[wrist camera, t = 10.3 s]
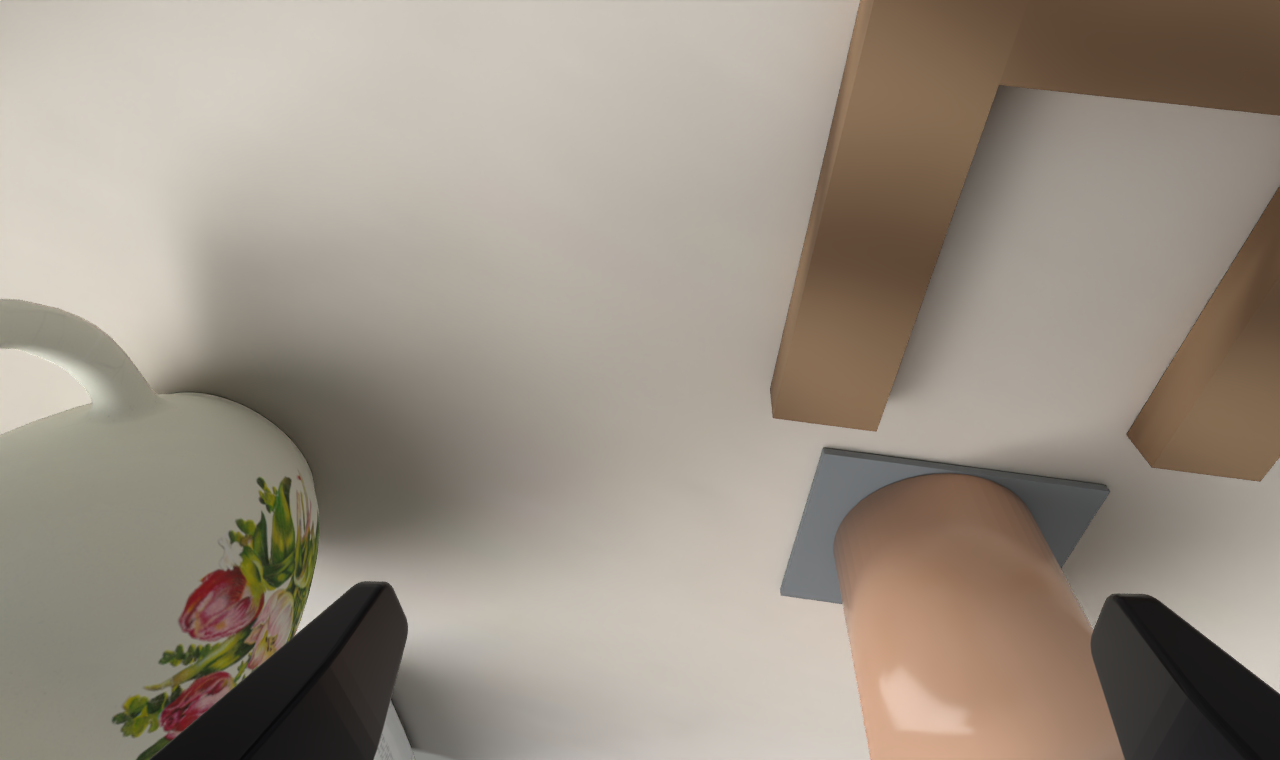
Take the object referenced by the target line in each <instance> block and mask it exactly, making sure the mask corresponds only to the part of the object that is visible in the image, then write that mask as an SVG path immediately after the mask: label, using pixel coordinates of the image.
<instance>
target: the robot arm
mask: <svg viewBox="0 0 1280 760" xmlns="http://www.w3.org/2000/svg"><path fill="white" fill-rule="evenodd" d="M407 634H408V623H407V619H406V616H405V614H404V612H403V609H402V607H401V605H400V603H399V600H398V598H397V596H396V594H395V591H394V589H393V587H392V586H391V585H390V584H389V583H387V582H370V581H365V582H360V583H358V584H356V585H354V586H353V587H352V588H350V589H349V590H348V591H347V592H346V593H345V594H343V595H342V596H341V597H340V598H339V599H337V600H336V601H335V602H334V603H333V604H332V605H330V606H329V607H328V608H327V609H326V610H324V611H323V612H322V613H321V614H320V615H319V616H317V617H316V618H315V619H314V620H313V621H312V622H310V623H309V624H308V625H307V626H306V627H304V628H303V629H302V630H301V631H300V632H299V633H297V634H296V635H295V636H294V637H293V638H292V639H290V640H289V641H288V642H287V643H286V644H284V645H283V646H282V647H281V648H280V649H279V650H277V651H276V652H275V653H274V654H273V655H271V656H270V657H269V658H268V659H267V660H266V661H264V662H263V663H262V664H261V665H260V666H259V667H257V668H256V669H255V670H254V671H253V672H251V673H250V674H249V675H248V676H247V677H246V678H244V679H243V680H242V681H241V682H240V683H239V684H237V685H236V686H235V687H234V688H233V689H231V690H230V691H229V692H228V693H227V694H226V695H224V696H223V697H222V698H221V699H220V700H218V701H217V702H216V703H215V704H214V705H213V706H211V707H210V708H209V709H208V710H207V711H206V712H204V713H203V714H202V715H201V716H200V717H198V718H197V719H196V720H195V721H194V722H193V723H191V724H190V725H189V726H188V727H187V728H186V729H184V730H183V731H182V732H181V733H180V734H178V735H177V736H176V737H175V738H174V739H173V740H171V741H170V742H169V743H168V744H167V745H165V746H164V747H163V748H162V749H161V750H160V751H158V752H157V753H156V754H155V755H154V756H153V757H151V758H150V759H149V760H374V757H375V754H376V752H377V749H378V745H379V742H380V738H381V735H382V731H383V728H384V724H385V720H386V716H387V712H388V709H389V705H390V701H391V697H392V693H393V689H394V686H395V682H396V678H397V674H398V670H399V666H400V663H401V659H402V655H403V651H404V647H405V643H406V639H407ZM1090 647H1091V654H1092V658H1093V662H1094V665H1095V668H1096V671H1097V674H1098V677H1099V681H1100V684H1101V687H1102V690H1103V693H1104V696H1105V699H1106V703H1107V706H1108V709H1109V712H1110V715H1111V718H1112V722H1113V725H1114V728H1115V731H1116V734H1117V737H1118V741H1119V744H1120V747H1121V750H1122V753H1123V756H1124V760H1280V694H1279V693H1278V692H1277V691H1275V690H1274V689H1273V688H1272V687H1270V686H1269V685H1268V684H1266V683H1265V682H1264V681H1262V680H1261V679H1260V678H1259V677H1257V676H1256V675H1255V674H1253V673H1252V672H1251V671H1250V670H1248V669H1247V668H1246V667H1244V666H1243V665H1242V664H1240V663H1239V662H1238V661H1237V660H1235V659H1234V658H1233V657H1231V656H1230V655H1229V654H1228V653H1226V652H1225V651H1224V650H1222V649H1221V648H1220V647H1218V646H1217V645H1216V644H1215V643H1213V642H1212V641H1211V640H1209V639H1208V638H1207V637H1205V636H1204V635H1203V634H1202V633H1200V632H1199V631H1198V630H1196V629H1195V628H1194V627H1193V626H1191V625H1190V624H1189V623H1187V622H1186V621H1185V620H1183V619H1182V618H1181V617H1180V616H1178V615H1177V614H1176V613H1174V612H1173V611H1172V610H1171V609H1169V608H1168V607H1167V606H1165V605H1164V604H1163V603H1161V602H1160V601H1159V600H1157V599H1156V598H1154V597H1152V596H1149V595H1145V594H1112V595H1111V596H1109V597H1108V598H1107V599H1106V601H1105V603H1104V605H1103V608H1102V610H1101V613H1100V615H1099V618H1098V620H1097V623H1096V625H1095V628H1094V630H1093V633H1092V636H1091V642H1090Z"/></svg>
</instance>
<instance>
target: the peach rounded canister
mask: <svg viewBox="0 0 1280 760" xmlns="http://www.w3.org/2000/svg"><path fill="white" fill-rule="evenodd" d="M833 553H834V559H835V565H836V570H837V576H838V581H839V587H840V592H841V598H842V603H843V609H844V614H845V620H846V625H847V631H848V637H849V642H850V648H851V653H852V659H853V664H854V670H855V675H856V681H857V686H858V692H859V697H860V703H861V709H862V714H863V720H864V725H865V731H866V736H867V742H868V747H869V753H870V758H871V760H1124V756H1123V753H1122V750H1121V747H1120V744H1119V741H1118V737H1117V734H1116V731H1115V728H1114V725H1113V722H1112V718H1111V715H1110V712H1109V709H1108V706H1107V703H1106V699H1105V696H1104V693H1103V690H1102V687H1101V684H1100V681H1099V677H1098V674H1097V671H1096V668H1095V665H1094V662H1093V658H1092V654H1091V647H1090V642H1091V636H1092V633H1093V629H1092V627H1091V625H1090V623H1089V621H1088V619H1087V617H1086V615H1085V613H1084V612H1083V610H1082V608H1081V606H1080V604H1079V602H1078V600H1077V598H1076V596H1075V595H1074V593H1073V591H1072V589H1071V587H1070V585H1069V583H1068V581H1067V579H1066V577H1065V576H1064V574H1063V572H1062V570H1061V568H1060V566H1059V564H1058V562H1057V560H1056V559H1055V557H1054V555H1053V553H1052V551H1051V549H1050V547H1049V545H1048V543H1047V542H1046V540H1045V538H1044V536H1043V534H1042V532H1041V530H1040V528H1039V526H1038V525H1037V523H1036V521H1035V519H1034V517H1033V515H1032V513H1031V512H1030V510H1029V508H1028V507H1027V505H1026V504H1025V503H1024V502H1023V501H1022V500H1021V498H1020V497H1019V496H1017V495H1016V494H1015V493H1013V492H1012V491H1011V490H1009V489H1007V488H1006V487H1004V486H1002V485H1000V484H998V483H995V482H993V481H990V480H988V479H984V478H980V477H976V476H970V475H964V474H950V473H947V474H930V475H922V476H917V477H913V478H908V479H904V480H901V481H898V482H895V483H892V484H890V485H888V486H885V487H883V488H881V489H879V490H877V491H875V492H874V493H872V494H870V495H869V496H867V497H866V498H864V499H863V500H862V501H860V502H859V503H858V504H857V505H856V506H855V507H854V508H852V509H851V510H850V512H849V513H848V514H847V515H846V516H845V518H844V519H843V521H842V522H841V524H840V526H839V528H838V530H837V532H836V535H835V539H834V546H833Z"/></svg>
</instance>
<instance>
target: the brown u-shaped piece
mask: <svg viewBox="0 0 1280 760" xmlns="http://www.w3.org/2000/svg"><path fill="white" fill-rule="evenodd" d="M999 85H1004V86H1013V87H1022V88H1031V89H1041V90H1050V91H1059V92H1068V93H1077V94H1087V95H1096V96H1105V97H1114V98H1123V99H1133V100H1142V101H1151V102H1160V103H1169V104H1179V105H1188V106H1197V107H1206V108H1215V109H1224V110H1234V111H1243V112H1252V113H1261V114H1270V115H1280V0H860V4H859V9H858V13H857V17H856V22H855V26H854V30H853V35H852V39H851V43H850V47H849V52H848V56H847V60H846V65H845V69H844V73H843V78H842V82H841V86H840V90H839V95H838V99H837V103H836V108H835V112H834V116H833V121H832V125H831V129H830V134H829V138H828V142H827V146H826V151H825V155H824V159H823V164H822V168H821V172H820V177H819V181H818V185H817V190H816V194H815V198H814V202H813V207H812V211H811V215H810V220H809V224H808V228H807V233H806V237H805V241H804V246H803V250H802V254H801V258H800V263H799V267H798V271H797V276H796V280H795V284H794V289H793V293H792V297H791V301H790V306H789V310H788V314H787V319H786V323H785V327H784V332H783V336H782V340H781V345H780V349H779V353H778V357H777V362H776V366H775V370H774V375H773V379H772V383H771V388H770V393H771V404H772V414H773V418H776V419H784V420H792V421H799V422H807V423H815V424H822V425H830V426H838V427H845V428H853V429H861V430H868V431H877V429H878V426H879V423H880V420H881V417H882V414H883V412H884V409H885V406H886V403H887V400H888V397H889V395H890V392H891V389H892V386H893V383H894V380H895V378H896V375H897V372H898V369H899V366H900V364H901V361H902V358H903V355H904V352H905V349H906V347H907V344H908V341H909V338H910V335H911V332H912V330H913V327H914V324H915V321H916V318H917V315H918V313H919V310H920V307H921V304H922V301H923V298H924V296H925V293H926V290H927V287H928V284H929V282H930V279H931V276H932V273H933V270H934V267H935V265H936V262H937V259H938V256H939V253H940V250H941V248H942V245H943V242H944V239H945V236H946V233H947V231H948V228H949V225H950V222H951V219H952V216H953V214H954V211H955V208H956V205H957V202H958V199H959V197H960V194H961V191H962V188H963V185H964V183H965V180H966V177H967V174H968V171H969V168H970V166H971V163H972V160H973V157H974V154H975V151H976V149H977V146H978V143H979V140H980V137H981V134H982V132H983V129H984V126H985V123H986V120H987V117H988V115H989V112H990V109H991V106H992V103H993V101H994V98H995V95H996V92H997V89H998V86H999ZM1127 436H1128V438H1129V439H1130V440H1131V442H1132V443H1133V444H1134V445H1135V447H1136V448H1137V449H1138V450H1139V452H1140V453H1141V454H1142V456H1143V457H1144V458H1145V459H1146V461H1147V462H1148V463H1149V464H1150V466H1151V467H1152V468H1160V469H1168V470H1175V471H1183V472H1191V473H1198V474H1206V475H1214V476H1222V477H1229V478H1237V479H1245V480H1252V481H1261V480H1262V479H1263V477H1264V476H1265V475H1266V474H1267V472H1268V471H1269V470H1270V469H1271V467H1272V466H1273V465H1274V464H1275V462H1276V461H1277V460H1278V459H1279V457H1280V187H1279V188H1278V190H1277V191H1276V193H1275V195H1274V196H1273V198H1272V200H1271V201H1270V203H1269V204H1268V206H1267V208H1266V209H1265V211H1264V213H1263V214H1262V216H1261V217H1260V219H1259V221H1258V222H1257V224H1256V225H1255V227H1254V229H1253V230H1252V232H1251V234H1250V235H1249V237H1248V238H1247V240H1246V242H1245V243H1244V245H1243V247H1242V248H1241V250H1240V251H1239V253H1238V255H1237V256H1236V258H1235V260H1234V261H1233V263H1232V264H1231V266H1230V268H1229V269H1228V271H1227V272H1226V274H1225V276H1224V277H1223V279H1222V281H1221V282H1220V284H1219V285H1218V287H1217V289H1216V290H1215V292H1214V294H1213V295H1212V297H1211V298H1210V300H1209V302H1208V303H1207V305H1206V307H1205V308H1204V310H1203V311H1202V313H1201V315H1200V316H1199V318H1198V320H1197V321H1196V323H1195V324H1194V326H1193V328H1192V329H1191V331H1190V332H1189V334H1188V336H1187V337H1186V339H1185V341H1184V342H1183V344H1182V345H1181V347H1180V349H1179V350H1178V352H1177V354H1176V355H1175V357H1174V358H1173V360H1172V362H1171V363H1170V365H1169V367H1168V368H1167V370H1166V371H1165V373H1164V375H1163V376H1162V378H1161V379H1160V381H1159V383H1158V384H1157V386H1156V388H1155V389H1154V391H1153V392H1152V394H1151V396H1150V397H1149V399H1148V401H1147V402H1146V404H1145V405H1144V407H1143V409H1142V410H1141V412H1140V414H1139V415H1138V417H1137V418H1136V420H1135V422H1134V423H1133V425H1132V427H1131V428H1130V430H1129V431H1128V433H1127Z"/></svg>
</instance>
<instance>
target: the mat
mask: <svg viewBox="0 0 1280 760" xmlns="http://www.w3.org/2000/svg"><path fill="white" fill-rule="evenodd" d="M947 473H950V474H964V475H970V476H976V477H980V478H984V479H988V480H990V481H993V482H995V483H998V484H1000V485H1002V486H1004V487H1006V488H1007V489H1009V490H1011V491H1012V492H1013V493H1015V494H1016V495H1017V496H1019V497H1020V498H1021V500H1022V501H1023V502H1024V503H1025V504H1026V505H1027V507H1028V508H1029V510H1030V512H1031V513H1032V515H1033V517H1034V519H1035V521H1036V523H1037V525H1038V526H1039V528H1040V530H1041V532H1042V534H1043V536H1044V538H1045V540H1046V542H1047V543H1048V545H1049V547H1050V549H1051V551H1052V553H1053V555H1054V557H1055V559H1056V560H1057V562H1058V564H1059V566H1060V568H1062V566H1063V565H1064V563H1065V561H1066V560H1067V558H1068V557H1069V555H1070V554H1071V552H1072V550H1073V549H1074V547H1075V546H1076V544H1077V543H1078V541H1079V540H1080V538H1081V536H1082V535H1083V533H1084V532H1085V530H1086V529H1087V527H1088V525H1089V524H1090V522H1091V521H1092V519H1093V518H1094V516H1095V514H1096V513H1097V511H1098V510H1099V508H1100V507H1101V505H1102V503H1103V502H1104V500H1105V499H1106V497H1107V496H1108V494H1109V492H1110V491H1109V489H1108V488H1107V486H1106V485H1101V484H1094V483H1086V482H1079V481H1071V480H1063V479H1056V478H1048V477H1041V476H1033V475H1025V474H1018V473H1010V472H1003V471H995V470H987V469H980V468H972V467H965V466H957V465H949V464H942V463H934V462H927V461H919V460H911V459H904V458H896V457H889V456H881V455H873V454H866V453H858V452H851V451H843V450H835V449H828V448H823V450H822V453H821V456H820V460H819V463H818V466H817V470H816V473H815V476H814V479H813V483H812V486H811V489H810V493H809V496H808V499H807V503H806V506H805V509H804V512H803V516H802V519H801V522H800V526H799V529H798V532H797V536H796V539H795V542H794V546H793V549H792V552H791V555H790V559H789V562H788V565H787V569H786V572H785V575H784V579H783V582H782V585H781V588H780V591H781V596H789V597H796V598H803V599H810V600H817V601H824V602H831V603H838V604H843V603H842V598H841V592H840V587H839V581H838V576H837V570H836V565H835V559H834V553H833V546H834V539H835V535H836V532H837V530H838V528H839V526H840V524H841V522H842V521H843V519H844V518H845V516H846V515H847V514H848V513H849V512H850V510H851V509H852V508H854V507H855V506H856V505H857V504H858V503H859V502H860V501H862V500H863V499H864V498H866V497H867V496H869V495H870V494H872V493H874V492H875V491H877V490H879V489H881V488H883V487H885V486H888V485H890V484H892V483H895V482H898V481H901V480H904V479H908V478H913V477H917V476H922V475H930V474H947Z"/></svg>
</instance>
